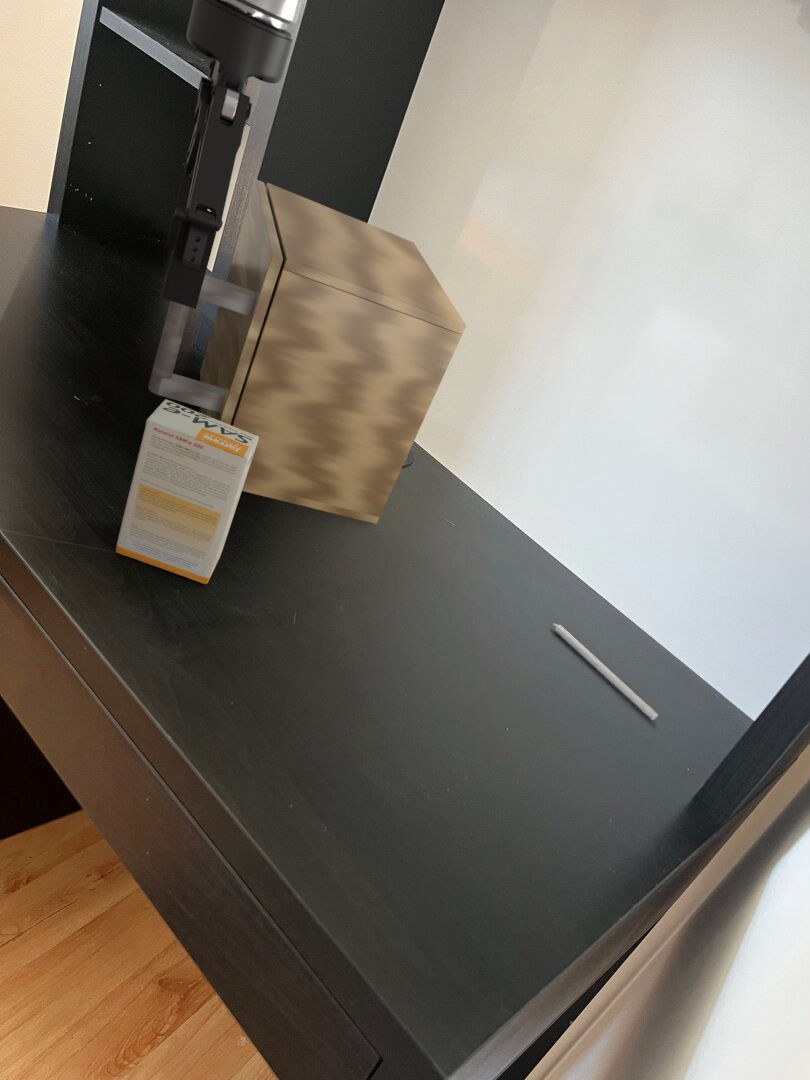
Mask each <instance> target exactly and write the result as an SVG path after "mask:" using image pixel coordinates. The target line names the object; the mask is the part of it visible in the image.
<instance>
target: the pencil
mask: <svg viewBox="0 0 810 1080" xmlns="http://www.w3.org/2000/svg"><path fill="white" fill-rule="evenodd" d="M552 625H553V629H554V631H555V632H556V633H557V634H558V635H559V636H560V637H561V638H563V639H564V640H565V641H566V642H567V643H568V644H569V645H570V646H571V647H572V648H574V650H575V651H577V652H578V653H579V654H580V655H581V656H582V657H583V658H584V659H585V660H586V661H587V662H588V663H590V665H592V666H593V667H594V668H595V669H596V670H597V671H598V672H600V673H601V675H602V676H604V677H605V678H606V680H608V681H609V682H610V683H611V684H612V685H614V686H615V687H616V689H618V690H619V691H620V692H621V693H622V694H623V695H625V697H626V698H628V700H630V701H631V702H632V703H633V704H634V705H635V706H636V707H637V708H638V709H639V710H641V712H643V714H645V715H646V716H647V717H648V718H649V719H650V720H651V721H655V720H656V719H657V718H658V716H659V713H657V712H656V711H655V710H654V709H653V707H651V706H650V704H648V703H646V702H645V701H644V700H643V699H642V698H641V697H640V696H639V695H638V694H637V693H635V692H634V691H633V690H632V689H631V688H630V687H629V686H628V685H627V684H626V683H624V682H623V681H622V680H621V679H620V678H619V677H618V676H617V675H616V674H615V673H613V671H612V670H611V669H609V668H608V667H607V666H606V665H605V664H604V663H603V662H602V661H601V660H600V659H598V658H597V657H596V656H595V655H594V654H593V653H592V652H590V650H589V649H588V648H586V647H585V645H583V644H582V643H581V642H580V641H579V640H578V639H576V638H575V637H574V636H573V635H572V634H571V633H570V632H569V631H567V630H566V629H565V627H563V625H561V624H558V623H554V622H552Z"/></svg>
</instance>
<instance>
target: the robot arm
mask: <svg viewBox="0 0 810 1080" xmlns="http://www.w3.org/2000/svg"><path fill="white" fill-rule="evenodd" d="M302 5H303V0H193V3H192V7H191V11H190V16H189V20H188V24H187V30H186V40H187V41H188V43H189V45H190V46H192V47H193V49H195V50H196V51H199V53H201V54H203V55H205V56H206V57H209V58H211V61H209V64H208V69H209V73H208V76H207V78H206V77H205V76H200V81H199V85H198V90H197V95H196V100H197V101H196V108H195V112H194V116H193V117H194V118H193V122H194V124H195V125H194V128H193V133H192V137H191V140H190V144H189V148H188V150H186V153H185V157H186V162H184V166H183V169H184V173H185V174H187V175H185V174H182V177H181V180H180V185H179V189H178V193H177V198H176V202H175V206H174V211H173V214H172V218H171V223H170V227H169V231H168V235H167V240H166V244H165V247H166V248H168V249H171V250H173V251H172V255H171V259H170V263H169V268H168V271H167V276H166V280H165V285H164V288H163V293H162V299H164V300H166V301H169V302H170V301H173V302H176V303H179V304H182V305H185V306H188V307H190V309H194V310H197V307H198V304H199V303H198V302H199V300H200V299H199V296H200V292H201V288H202V284H203V281H204V277H205V274H206V272H207V269H208V266H209V261H210V258H211V255H212V251H213V246H214V244H215V239H216V236H217V233H219V232H220V231H221V228H222V227H223V224H224V222H223V216H224V212H225V207H226V204H227V203H226V202H227V198H228V193H229V189H230V185H231V180H232V176H233V171H234V166H235V161H236V158H237V154H238V153H239V150H240V147H241V144H242V140H243V135H244V131H245V130H244V129H245V127H246V126H247V123H248V121H249V118H250V116H251V111H252V107H253V106H252V105H253V103H252V102H250V101H251V97H250V96H249V95H247V94H246V91H247V86H248V80H249V78H251V77H253V78H255V79H257V80H259V81H261V82H264V83H268V84H278V83H280V82H281V81H282V80H283V76H284V72H285V69H286V66H287V61H288V59H289V54H290V51H291V48H292V44H293V39H292V33H290V32H289V31H288V30H287V28H288V25H290V26H294V25H296V24H297V23H298V20H299V17H300V13H301V9H302ZM188 175H189V176H188Z"/></svg>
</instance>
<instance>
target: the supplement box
mask: <svg viewBox="0 0 810 1080" xmlns="http://www.w3.org/2000/svg"><path fill="white" fill-rule="evenodd" d="M258 439H259V437H258V436H256V435H253V434H251V433H249V432H246V431H243V430H241V429H239V428H236V427H233V426H231V425H229V424H226V423H224V422H221V421H219V420H216V419H213V418H211V417H209V416H206V415H204V414H201V412H198V411H196V410H194V409H192V408H189V407H186V406H184V405H183V404H182V405H181V404H179V403H176V402H174V401H172V400H169V399H164V400H163V401H162V402H161V403H160V405H158V406H157V408H156V409H155V410H154V411H153V412H152V413H151V414H150V415H149V416H148V418H146V420H145V427H144V431H143V435H142V438H141V442H140V443H141V444H140V447H139V451H138V455H137V459H136V463H135V467H134V471H133V476H132V480H131V484H130V489H129V491H128V496H127V500H126V504H125V508H124V511H123V516H122V520H121V524H120V529H119V533H118V537H117V542H116V546H115V553H117V554H119V555H122V556H125V557H128V558H131V559H134V560H136V561H139V562H142V563H144V564H148V565H150V566H152V567H153V566H154V567H156V568H159V569H161V570H164V571H167V572H170V573H172V574H176V575H178V576H181V577H184V578H187V579H190V580H192V581H195V582H197V583H200V584H203V585H207V584H208V583H209V581H210V579H211V577H212V575H213V573H214V571H215V569H216V566H217V564H218V563H219V560H220V559H221V556H222V553H223V550H224V547H225V543H226V540H227V538H228V535H229V532H230V528H231V525H232V522H233V519H234V515H235V513H236V510H237V506H238V503H239V501H240V498H241V494H242V493H243V491H242V489H243V486H244V483H245V480H246V476H247V473H248V470H249V467H250V464H251V461H252V458H253V455H254V452H255V449H256V446H257V443H258Z"/></svg>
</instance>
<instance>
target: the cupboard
mask: <svg viewBox="0 0 810 1080" xmlns="http://www.w3.org/2000/svg"><path fill="white" fill-rule="evenodd" d="M265 188H266V192H267V196H268V200H269V204H270V208H271V212H272V216H273V220H274V224H275V228H276V232H277V236H278V240H279V244H280V248H281V252H282V256H283V261H282V264H281V268H280V271H279V274H278V277H277V280H276V283H275V286H274V289H273V293H272V296H271V299H270V302H269V305H268V308H267V311H266V314H265V318H264V321H263V324H262V327H261V330H260V333H259V336H258V339H257V342H256V346H255V349H254V352H253V355H252V358H251V361H250V364H249V367H248V371H247V374H246V377H245V380H244V383H243V386H242V389H241V392H240V396H239V399H238V402H237V405H236V408H235V411H234V414H233V417H232V421H231V424H230V425H231V426H233V427H236V428H239V429H241V430H243V431H246V432H249V433H251V434H253V435H256V436H258V437H259V439H258V443H257V446H256V449H255V452H254V455H253V458H252V461H251V464H250V467H249V470H248V473H247V476H246V480H245V483H244V486H243V489H242V492H245V493H248V494H249V493H250V494H252V495H253V494H254V495H257V496H261V497H266V498H269V499H273V500H277V501H282V502H284V503H285V502H287V503H290V504H293V505H297V506H302V507H306V508H309V509H313V510H318V511H321V512H326V513H329V514H330V513H331V514H334V515H338V516H342V517H346V518H349V519H353V520H358V521H363V522H366V523H370V524H375V525H377V524H378V522H379V519H380V517H381V516H382V512H383V511H384V508H385V506H386V504H387V502H388V499H389V497H390V496H391V495H390V494H391V493H392V491H393V488H394V486H395V484H396V482H397V480H398V478H399V475H400V473H401V470H402V468H403V466H404V465H405V462H406V460H407V458H408V456H409V453H410V451H411V448H412V446H413V445H414V442H415V440H416V438H417V435H418V433H419V432H420V429H421V427H422V425H423V422H424V420H425V418H426V415H427V414H428V411H429V409H430V407H431V404H432V403H433V400H434V398H435V396H436V393H437V391H438V389H439V387H440V385H441V382H442V380H443V378H444V376H445V373H446V372H447V370H448V368H449V365H450V362H451V361H452V358H453V356H454V354H455V351H456V350H457V348H458V346H459V343H460V341H461V339H462V337H463V334H464V332H465V329H466V327H467V324H466V323H465V322H464V320H463V318H462V316H461V315H460V313H459V312H458V310H457V308H456V307H455V306H454V304H453V302H452V300H451V299H450V297H449V296H448V294H447V293H446V291H445V289H444V288H443V287H442V285H441V284H440V282H439V280H438V278H437V277H436V276H435V274H434V272H433V271H432V269H431V267H430V266H429V264H428V262H427V261H426V260H425V258H424V256H423V255H422V253H421V252H420V250H419V249H418V247H417V246H416V244H415V242H414V241H411V240H409V239H406V238H403V237H402V236H399V235H398V234H397V235H396V234H394V233H392V232H389V231H387V230H384V229H382V228H379V227H377V226H375V225H372V224H370V223H368V222H366V221H363V220H360V219H358V218H355V217H353V216H351V215H348V214H345V213H343V212H341V211H338V210H336V209H334V208H331V207H329V206H325V205H324V204H321V203H319V202H316V201H314V200H311V199H309V198H306V197H304V196H303V195H302V196H301V195H299V194H297V193H294V192H292V191H289V190H288V189H284V188H282V187H279V186H277V185H275V184H272V183H271V182H266V185H265Z"/></svg>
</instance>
